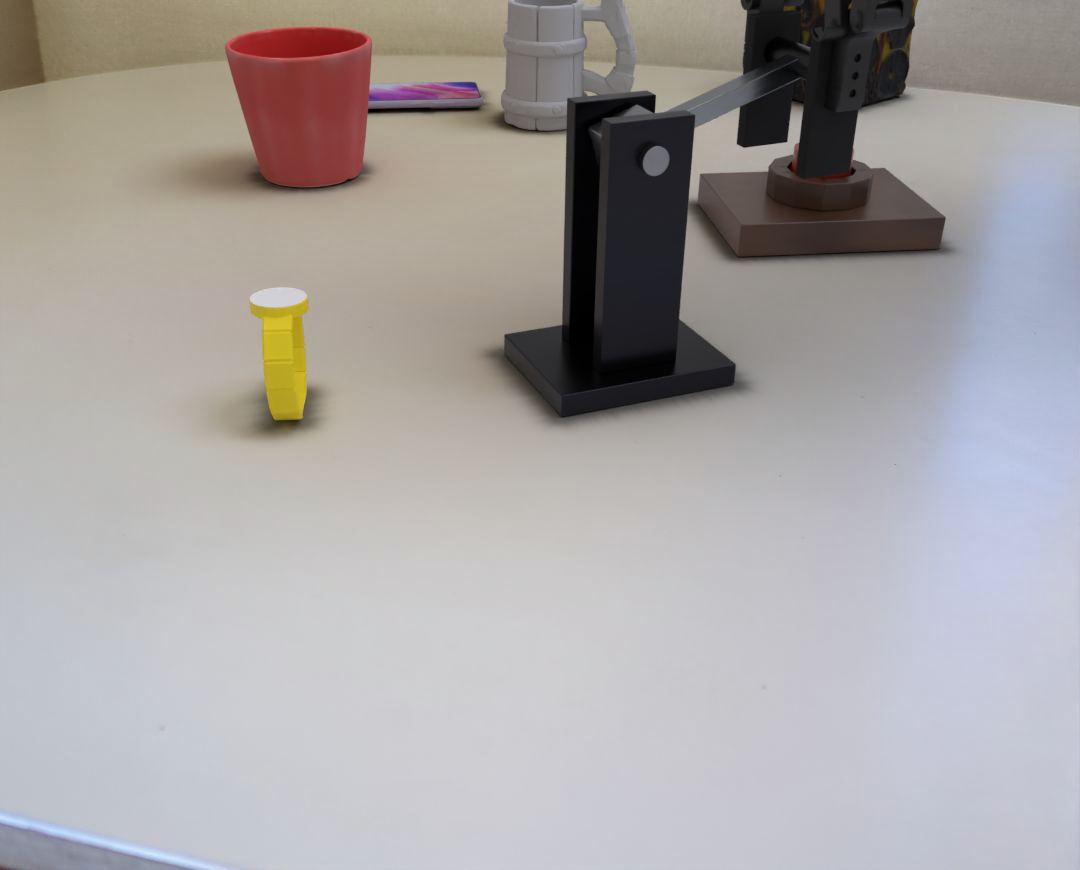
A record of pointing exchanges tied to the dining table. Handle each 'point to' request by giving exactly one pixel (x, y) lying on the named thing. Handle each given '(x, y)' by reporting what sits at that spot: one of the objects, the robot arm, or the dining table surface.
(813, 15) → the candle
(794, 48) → the switch lever
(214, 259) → the dining table surface
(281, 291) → the watch
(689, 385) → the switch bracket
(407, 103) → the smartphone
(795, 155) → the button
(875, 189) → the switch block
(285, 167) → the flower pot
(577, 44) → the mug
